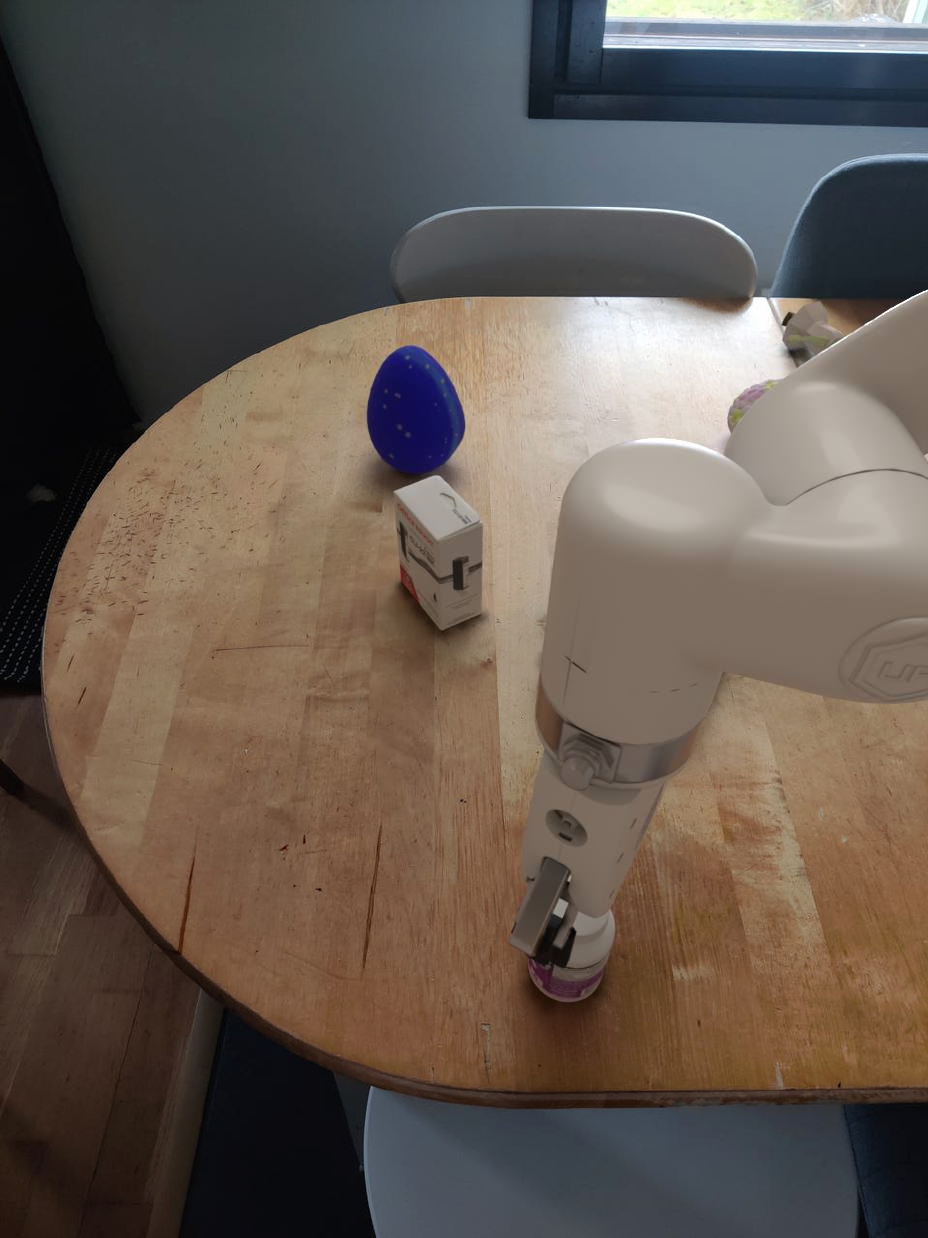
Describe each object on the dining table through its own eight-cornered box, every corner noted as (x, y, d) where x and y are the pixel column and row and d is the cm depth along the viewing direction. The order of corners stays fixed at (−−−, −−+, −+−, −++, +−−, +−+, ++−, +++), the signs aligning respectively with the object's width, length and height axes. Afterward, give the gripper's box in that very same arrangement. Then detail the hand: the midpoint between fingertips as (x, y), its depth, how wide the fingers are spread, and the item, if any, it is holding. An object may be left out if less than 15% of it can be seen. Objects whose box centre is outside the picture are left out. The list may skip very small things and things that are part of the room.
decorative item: (853, 406, 101) (816, 352, 95) (800, 484, 101) (760, 435, 95) (792, 397, 108) (755, 346, 103) (743, 469, 108) (703, 423, 103)
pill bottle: (522, 931, 62) (530, 866, 55) (595, 926, 62) (612, 860, 55) (531, 1008, 58) (541, 949, 51) (609, 1003, 58) (629, 943, 51)
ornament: (475, 461, 101) (477, 344, 91) (430, 501, 96) (426, 382, 85) (401, 431, 106) (394, 316, 95) (353, 468, 100) (341, 350, 90)
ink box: (398, 580, 87) (391, 487, 79) (440, 564, 89) (438, 470, 80) (440, 633, 82) (437, 539, 74) (483, 614, 84) (486, 520, 75)
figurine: (758, 336, 119) (831, 394, 110) (789, 286, 115) (867, 341, 106) (797, 344, 124) (870, 400, 115) (828, 296, 119) (906, 350, 111)
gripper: (624, 898, 32) (574, 1049, 44) (756, 614, 43) (686, 800, 55) (451, 809, 35) (449, 976, 47) (616, 562, 45) (579, 751, 57)
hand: (577, 881), depth 51 cm, fingers open, 9 cm apart
